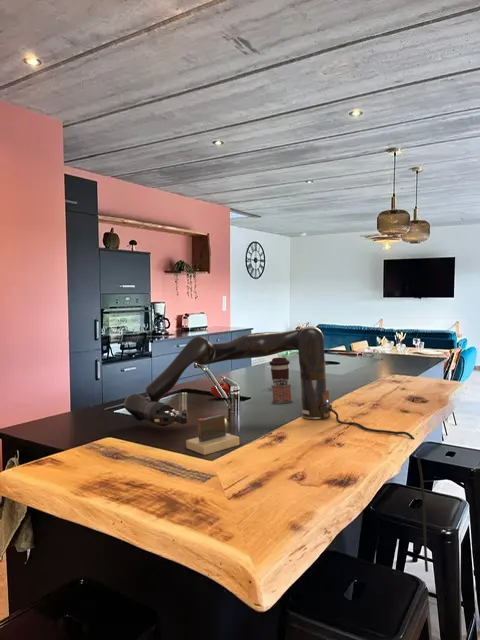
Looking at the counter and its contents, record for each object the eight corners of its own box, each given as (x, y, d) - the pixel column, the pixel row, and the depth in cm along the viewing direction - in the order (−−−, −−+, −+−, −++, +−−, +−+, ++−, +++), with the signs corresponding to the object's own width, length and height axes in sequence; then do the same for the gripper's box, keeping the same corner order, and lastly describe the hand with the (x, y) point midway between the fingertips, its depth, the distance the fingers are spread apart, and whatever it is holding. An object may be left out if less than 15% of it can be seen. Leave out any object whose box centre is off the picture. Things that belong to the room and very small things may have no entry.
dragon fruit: (211, 400, 228) (232, 405, 222) (203, 393, 222) (225, 398, 216) (218, 384, 232) (239, 389, 226) (210, 376, 225) (232, 381, 219)
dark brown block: (222, 434, 152) (221, 413, 152) (225, 435, 151) (224, 414, 150) (198, 441, 146) (197, 419, 146) (201, 442, 145) (200, 419, 145)
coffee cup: (283, 390, 234) (281, 359, 234) (267, 389, 241) (265, 359, 241) (294, 386, 242) (293, 357, 241) (279, 385, 248) (277, 356, 248)
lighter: (291, 400, 209) (290, 377, 209) (291, 402, 205) (290, 379, 205) (272, 401, 210) (271, 378, 209) (272, 403, 206) (271, 380, 206)
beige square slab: (218, 438, 158) (217, 429, 158) (243, 445, 148) (242, 437, 147) (183, 447, 150) (182, 438, 150) (207, 456, 139) (206, 447, 139)
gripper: (140, 405, 163) (165, 412, 150) (174, 399, 171) (201, 405, 158) (142, 427, 163) (167, 436, 150) (176, 420, 172) (203, 427, 158)
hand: (184, 420), depth 154 cm, fingers closed
